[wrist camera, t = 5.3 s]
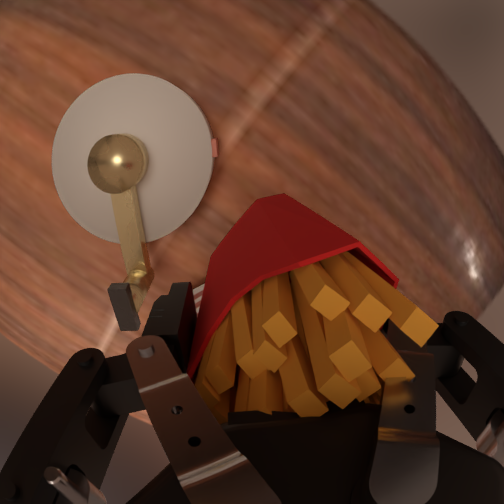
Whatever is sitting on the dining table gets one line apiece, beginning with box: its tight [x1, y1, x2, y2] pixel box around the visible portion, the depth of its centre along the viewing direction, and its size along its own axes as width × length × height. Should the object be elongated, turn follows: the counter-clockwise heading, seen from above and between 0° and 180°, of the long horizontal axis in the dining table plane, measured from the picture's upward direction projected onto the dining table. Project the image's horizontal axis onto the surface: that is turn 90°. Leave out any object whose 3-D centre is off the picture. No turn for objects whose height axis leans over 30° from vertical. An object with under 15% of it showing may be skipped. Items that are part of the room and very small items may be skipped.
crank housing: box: [52, 74, 219, 244], centre depth 27 cm, size 16×16×4 cm
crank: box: [87, 133, 154, 331], centre depth 24 cm, size 16×5×7 cm, turn 4°
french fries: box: [187, 193, 439, 424], centre depth 12 cm, size 8×4×12 cm, turn 141°
